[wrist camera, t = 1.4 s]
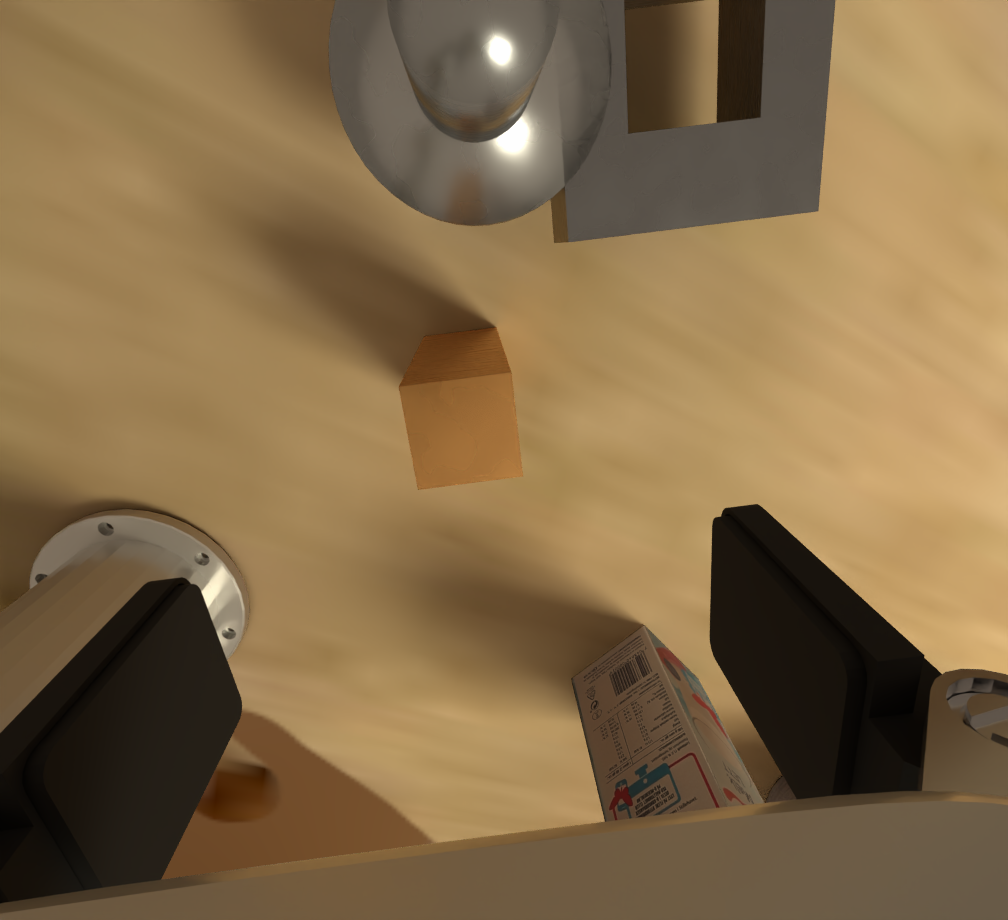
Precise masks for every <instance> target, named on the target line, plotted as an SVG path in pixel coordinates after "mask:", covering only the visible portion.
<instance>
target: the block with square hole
mask: <svg viewBox="0 0 1008 920" xmlns="http://www.w3.org/2000/svg"><path fill="white" fill-rule="evenodd" d="M693 1H702V0H335V5H334V9H333V14H332V19H331V25H330V36H329V69H330V76H331V84H332V90H333V94H334V98H335V102H336V106H337V110H338V113H339V115H340V118H341V121H342V124H343V126H344V129H345V131H346V133H347V135H348V137H349V139H350V141H351V143H352V145H353V147H354V149H355V151H356V152H357V154H358V155H359V157H360V158H361V160H362V161H363V163H364V164H365V166H366V167H367V168H368V169H369V170H370V172H371V173H372V174H373V175H374V176H375V178H376V179H377V180H378V181H379V182H380V183H381V184H382V185H383V186H384V187H385V188H386V189H387V190H389V191H390V192H391V193H392V194H393V195H394V196H396V197H397V198H399V199H400V200H401V201H403V202H404V203H405V204H407V205H408V206H410V207H412V208H413V209H415V210H417V211H419V212H421V213H423V214H424V215H427V216H429V217H432V218H435V219H437V220H440V221H444V222H448V223H452V224H456V225H467V226H483V225H493V224H498V223H503V222H507V221H509V220H512V219H515V218H518V217H521V216H523V215H525V214H527V213H529V212H531V211H532V210H534V209H536V208H538V207H539V206H541V205H542V204H544V203H545V202H547V201H548V200H549V199H551V208H552V221H553V234H554V243H563V242H574V241H582V240H591V239H599V238H607V237H615V236H623V235H631V234H639V233H647V232H655V231H663V230H671V229H679V228H687V227H695V226H703V225H711V224H719V223H728V222H736V221H744V220H752V219H760V218H768V217H776V216H784V215H792V214H800V213H808V212H816V211H818V208H819V196H820V183H821V171H822V158H823V146H824V134H825V121H826V109H827V97H828V84H829V72H830V59H831V47H832V35H833V22H834V10H835V0H719V27H718V78H717V123H712V124H704V125H696V126H688V127H679V128H671V129H663V130H655V131H647V132H638V133H630V134H628V112H627V79H626V47H625V14H624V10H626V9H634V8H643V7H651V6H660V5H668V4H677V3H685V2H693Z"/></svg>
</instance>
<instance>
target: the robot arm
mask: <svg viewBox="0 0 1008 920" xmlns="http://www.w3.org/2000/svg"><path fill="white" fill-rule="evenodd" d="M29 583H30V590H29V591H28V592H26V593H25V594H24V595H22V596H21V597H20V598H19V599H17V600H16V601H15V602H13V603H12V604H11V605H10V606H8V607H7V608H6V609H4V610H3V611H2V612H1V613H0V920H1008V675H1006V674H1002V673H997V672H992V671H987V670H982V669H958V670H954V671H949V672H945V673H944V674H941V673H940V672H939V671H938V670H937V669H936V668H935V667H934V666H932V665H931V664H930V663H929V662H928V661H927V660H926V659H925V658H924V655H923V654H922V653H921V652H920V651H919V650H918V649H917V648H916V647H915V646H914V645H913V644H911V643H910V642H909V641H908V640H907V639H906V638H905V637H904V636H903V635H902V634H900V633H899V632H898V631H897V630H896V629H895V628H894V627H893V626H892V625H891V624H889V623H888V622H887V621H886V620H885V619H884V618H883V617H882V616H881V615H880V614H879V613H877V612H876V611H875V610H874V609H873V608H872V607H871V606H870V605H869V604H868V603H866V602H865V601H864V600H863V599H862V598H861V597H860V596H859V595H858V594H857V593H856V592H854V591H853V590H852V589H851V588H850V587H849V586H848V585H847V584H846V583H845V582H843V581H842V580H841V579H840V578H839V577H838V576H837V575H836V574H835V573H834V572H832V571H831V570H830V569H829V568H828V567H827V566H826V565H825V564H824V563H823V562H822V561H820V560H819V559H818V558H817V557H816V556H815V555H814V554H813V553H812V552H811V551H809V550H808V549H807V548H806V547H805V546H804V545H803V544H802V543H801V542H800V541H799V540H797V539H796V538H795V537H794V536H793V535H792V534H791V533H790V532H789V531H788V530H786V529H785V528H784V527H783V526H782V525H781V524H780V523H779V522H778V521H777V520H775V519H774V518H773V517H772V516H771V515H770V514H769V513H768V512H767V511H766V510H765V509H763V508H762V507H761V506H760V505H758V504H754V505H746V506H738V507H731V508H725V509H724V510H723V512H722V515H721V517H715V518H714V520H713V525H712V562H711V604H710V644H711V649H712V652H713V655H714V657H715V660H716V661H717V663H718V665H719V666H720V668H721V670H722V672H723V673H724V675H725V677H726V679H727V680H728V682H729V684H730V685H731V687H732V689H733V691H734V692H735V694H736V696H737V697H738V699H739V701H740V703H741V704H742V706H743V708H744V709H745V711H746V713H747V715H748V716H749V718H750V720H751V721H752V723H753V725H754V727H755V728H756V730H757V732H758V734H759V735H760V737H761V739H762V740H763V742H764V744H765V746H766V747H767V749H768V751H769V752H770V754H771V756H772V758H773V759H774V761H775V763H776V764H777V766H778V768H779V770H780V771H781V773H782V775H783V776H784V778H785V780H786V782H787V783H788V785H789V787H790V788H791V790H792V792H793V794H794V795H795V797H796V799H797V800H788V801H778V802H769V803H759V804H750V805H740V806H731V807H722V808H712V809H704V810H696V811H688V812H680V813H672V814H664V815H656V816H648V817H640V818H631V819H623V820H615V821H607V822H599V823H591V824H583V825H575V826H567V827H559V828H551V829H543V830H534V831H526V832H519V833H511V834H503V835H495V836H488V837H480V838H472V839H464V840H456V841H449V842H441V843H433V844H425V845H418V846H411V847H402V848H396V849H387V850H379V851H372V852H364V853H356V854H349V855H342V856H333V857H326V858H318V859H311V860H303V861H296V862H288V863H281V864H273V865H267V866H258V867H252V868H244V869H236V870H229V871H222V872H215V873H208V874H200V875H193V876H185V877H178V878H171V879H163V880H161V878H162V876H163V874H164V872H165V870H166V868H167V866H168V864H169V862H170V860H171V858H172V856H173V854H174V852H175V850H176V848H177V846H178V844H179V842H180V840H181V838H182V836H183V833H184V832H185V830H186V828H187V826H188V823H189V822H190V819H191V818H192V815H193V813H194V811H195V809H196V807H197V805H198V803H199V801H200V799H201V797H202V795H203V793H204V791H205V789H206V787H207V785H208V783H209V781H210V779H211V777H212V775H213V773H214V771H215V769H216V767H217V765H218V763H219V761H220V759H221V757H222V755H223V753H224V750H225V748H226V746H227V744H228V742H229V740H230V738H231V736H232V734H233V732H234V730H235V728H236V726H237V724H238V722H239V720H240V716H241V712H242V701H241V697H240V694H239V691H238V689H237V686H236V683H235V681H234V678H233V675H232V672H231V670H230V667H229V664H228V662H227V660H228V659H229V658H230V656H231V655H232V654H233V653H234V651H235V650H236V648H237V646H238V645H239V643H240V641H241V640H242V638H243V635H244V633H245V630H246V628H247V625H248V619H249V612H250V607H249V597H248V592H247V589H246V586H245V583H244V580H243V578H242V576H241V574H240V572H239V571H238V569H237V567H236V565H235V564H234V562H233V561H232V560H231V559H230V557H229V556H228V555H227V554H226V553H225V552H224V550H223V549H222V548H221V547H220V546H219V545H217V544H216V543H215V542H214V541H213V540H211V539H210V538H209V537H208V536H207V535H205V534H204V533H202V532H200V531H199V530H197V529H195V528H194V527H192V526H190V525H189V524H186V523H184V522H181V521H179V520H177V519H174V518H172V517H169V516H166V515H162V514H158V513H154V512H149V511H143V510H130V509H121V510H109V511H103V512H99V513H95V514H92V515H88V516H85V517H83V518H81V519H79V520H77V521H75V522H73V523H71V524H69V525H68V526H66V527H65V528H64V529H62V530H61V531H60V532H58V533H57V534H55V535H54V536H53V537H52V538H51V539H50V540H49V541H48V542H47V543H46V544H45V545H44V546H43V547H42V548H41V550H40V552H39V553H38V555H37V557H36V559H35V561H34V563H33V566H32V569H31V573H30V578H29Z"/></svg>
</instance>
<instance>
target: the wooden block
mask: <svg viewBox="0 0 1008 920" xmlns="http://www.w3.org/2000/svg"><path fill="white" fill-rule="evenodd" d="M399 391H400V396H401V402H402V407H403V412H404V418H405V423H406V428H407V434H408V439H409V444H410V450H411V455H412V460H413V466H414V471H415V476H416V482H417V487H418V490H420V489H428V488H436V487H444V486H451V485H459V484H467V483H475V482H482V481H490V480H498V479H505V478H513V477H521V476H523V472H522V463H521V454H520V445H519V436H518V427H517V418H516V409H515V400H514V391H513V382H512V373H511V370H510V367H509V364H508V361H507V358H506V355H505V352H504V349H503V346H502V343H501V340H500V337H499V334H498V331H497V328H496V327H494V328H486V329H478V330H470V331H462V332H454V333H446V334H438V335H430V336H424V338H423V340H422V342H421V344H420V346H419V348H418V350H417V352H416V354H415V356H414V358H413V360H412V362H411V364H410V366H409V367H408V369H407V371H406V373H405V375H404V377H403V379H402V381H401V383H400V385H399Z"/></svg>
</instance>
